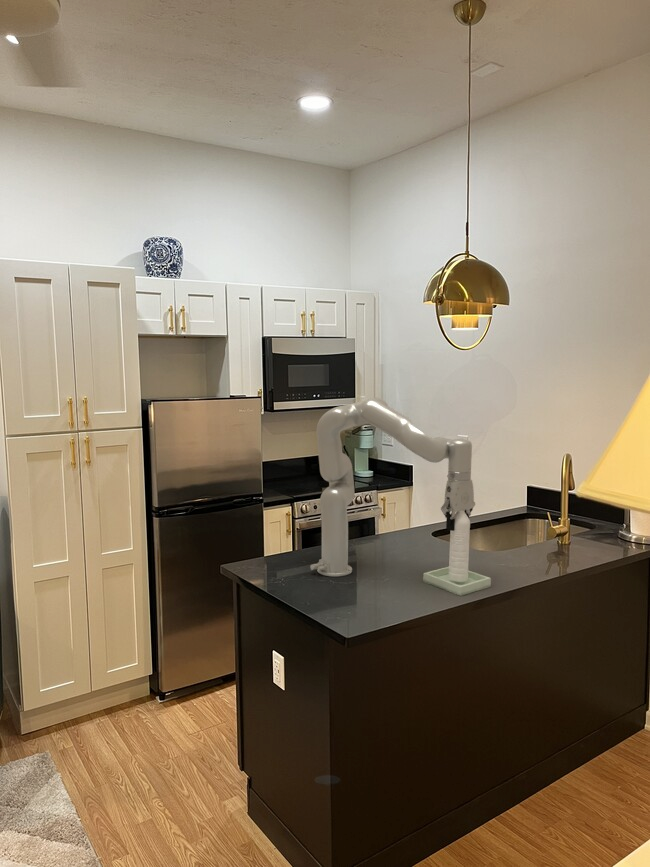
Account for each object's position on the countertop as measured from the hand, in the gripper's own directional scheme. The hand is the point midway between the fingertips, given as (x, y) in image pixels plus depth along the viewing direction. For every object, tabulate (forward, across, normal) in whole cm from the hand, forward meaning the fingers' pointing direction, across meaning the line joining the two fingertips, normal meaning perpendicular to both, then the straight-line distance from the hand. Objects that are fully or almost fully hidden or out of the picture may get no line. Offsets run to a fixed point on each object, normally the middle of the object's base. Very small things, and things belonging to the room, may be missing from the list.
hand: (457, 527), depth 220 cm
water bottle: (+18, 0, 0) cm, 18 cm away
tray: (+20, 0, 0) cm, 20 cm away
